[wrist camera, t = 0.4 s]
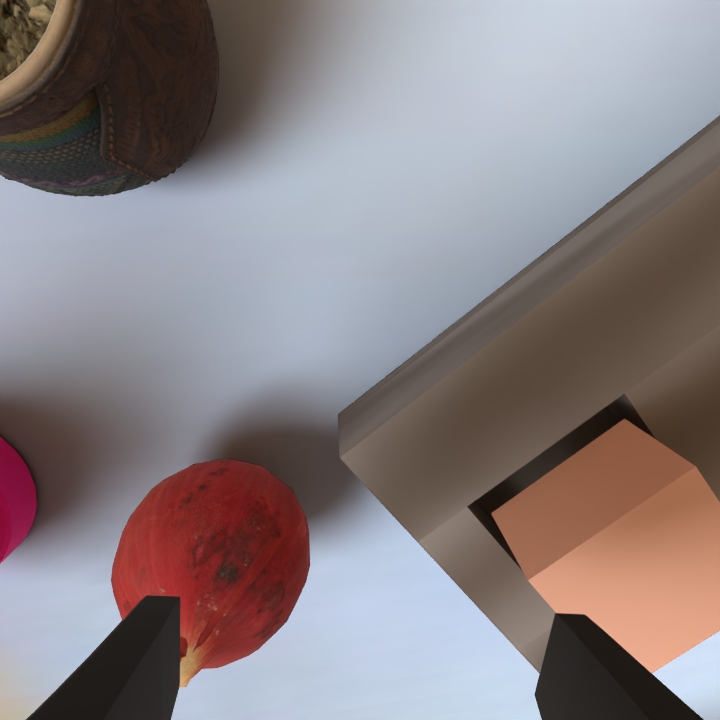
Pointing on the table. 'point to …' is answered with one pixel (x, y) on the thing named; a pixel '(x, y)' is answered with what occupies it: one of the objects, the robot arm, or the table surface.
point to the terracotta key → (624, 543)
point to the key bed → (554, 381)
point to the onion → (216, 558)
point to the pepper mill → (14, 499)
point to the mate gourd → (103, 91)
